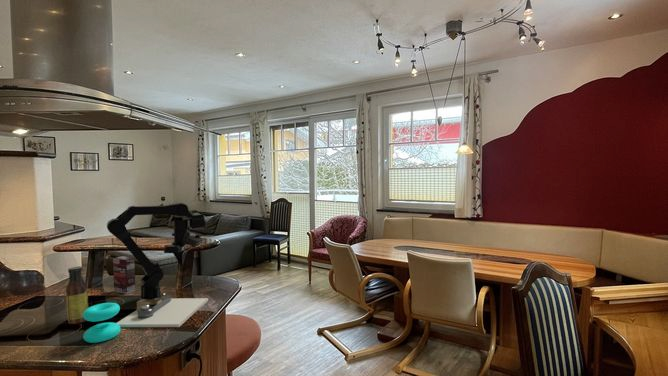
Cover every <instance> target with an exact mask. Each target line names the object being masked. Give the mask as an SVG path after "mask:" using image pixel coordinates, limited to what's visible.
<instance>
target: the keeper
mask: <svg viewBox="0 0 668 376" xmlns="http://www.w3.org/2000/svg"><path fill="white" fill-rule="evenodd" d="M140 299H141V298H140ZM140 299H138V300H137V301H136V310H137V312H138V310H139V309H141V308H142V305H145V304H149V305H155V304H159V303H160V302H162V299H159V298H158V299H141V300H140Z"/></svg>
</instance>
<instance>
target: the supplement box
mask: <svg viewBox="0 0 668 376" xmlns="http://www.w3.org/2000/svg"><path fill="white" fill-rule="evenodd" d="M135 260H136V258H135V257H131V256H118V257H114V258H112V265H113V266H112V268H113V270H112V271H113V273H112V274H113V292H114V293H119V294H125V295H127V294H130V293H134V292H136V265H135V264H136V261H135Z"/></svg>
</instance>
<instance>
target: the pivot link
mask: <svg viewBox="0 0 668 376" xmlns="http://www.w3.org/2000/svg"><path fill="white" fill-rule="evenodd" d="M158 299H162V302H160V303H159V304H155V305H149V304H145V305H142V308H141V309H139V310H138V318H140V319H144V318H149V317H151V316H153V313H154V312H156V311H157V310H159V309H160V308H161V307H163V306H164V305H166V304H167V303H169V302H170V301H171V299H172V297H171V295H169V294H163V295H161V297H160V298H158Z"/></svg>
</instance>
